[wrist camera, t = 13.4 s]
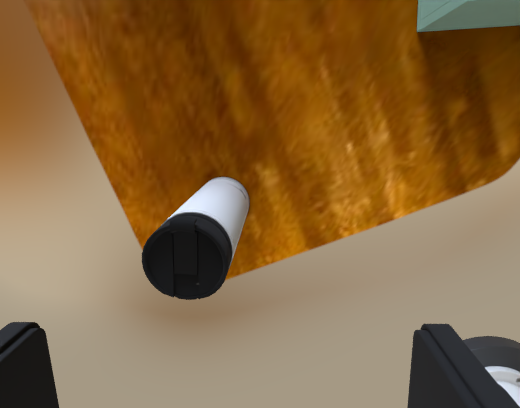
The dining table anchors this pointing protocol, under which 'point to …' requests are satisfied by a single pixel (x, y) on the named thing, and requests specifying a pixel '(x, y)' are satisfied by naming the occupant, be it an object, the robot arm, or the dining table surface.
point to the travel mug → (197, 241)
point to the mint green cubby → (466, 14)
